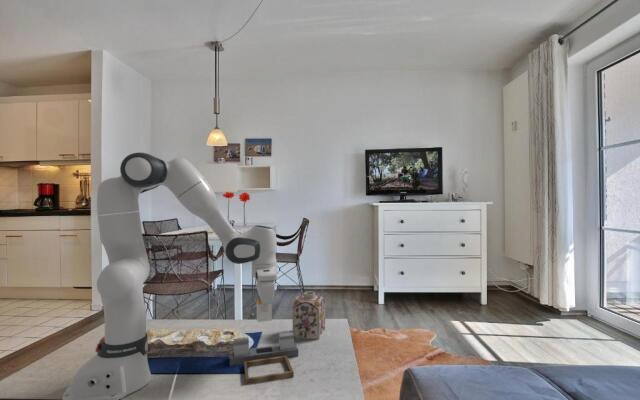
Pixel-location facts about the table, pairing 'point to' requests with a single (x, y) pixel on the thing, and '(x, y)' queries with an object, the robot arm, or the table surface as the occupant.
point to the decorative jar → (309, 316)
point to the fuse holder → (262, 354)
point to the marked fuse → (263, 315)
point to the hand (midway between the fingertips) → (264, 309)
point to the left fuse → (241, 346)
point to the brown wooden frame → (271, 376)
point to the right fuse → (286, 341)
